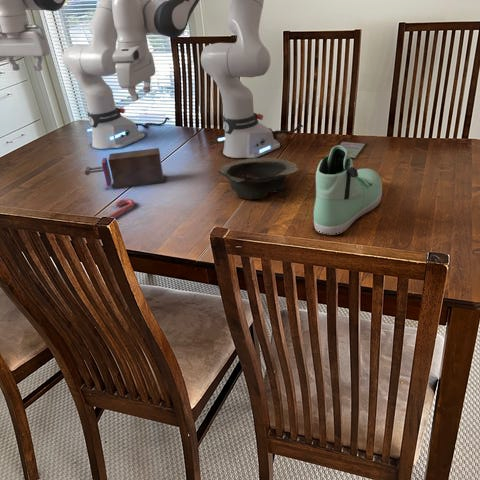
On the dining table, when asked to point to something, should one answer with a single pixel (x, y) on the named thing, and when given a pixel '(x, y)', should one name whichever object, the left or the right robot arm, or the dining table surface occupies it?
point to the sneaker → (343, 192)
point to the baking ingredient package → (352, 148)
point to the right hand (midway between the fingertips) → (141, 96)
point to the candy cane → (118, 212)
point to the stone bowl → (257, 176)
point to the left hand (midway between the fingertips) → (27, 70)
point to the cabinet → (136, 168)
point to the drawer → (104, 168)
